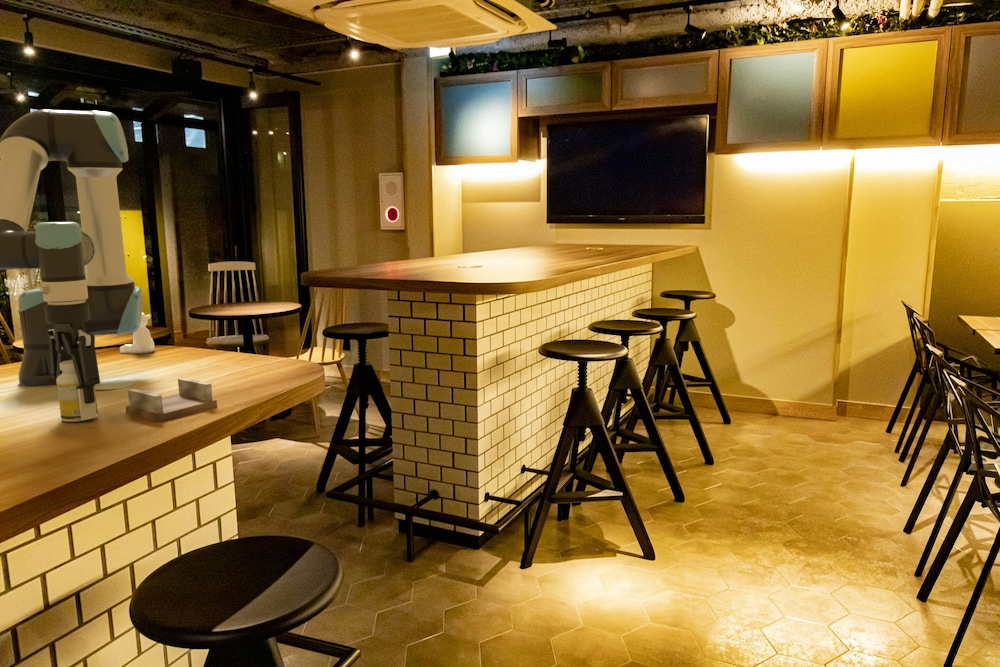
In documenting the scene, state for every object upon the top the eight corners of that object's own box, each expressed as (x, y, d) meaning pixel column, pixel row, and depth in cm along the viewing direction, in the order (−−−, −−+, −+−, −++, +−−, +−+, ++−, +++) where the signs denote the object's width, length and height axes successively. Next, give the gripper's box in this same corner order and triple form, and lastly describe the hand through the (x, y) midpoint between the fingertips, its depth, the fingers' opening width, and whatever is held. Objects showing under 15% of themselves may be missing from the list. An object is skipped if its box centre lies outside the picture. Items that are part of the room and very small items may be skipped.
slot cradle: (126, 413, 147) (123, 389, 146) (183, 399, 158) (181, 377, 157) (159, 422, 141) (157, 397, 140) (217, 406, 151) (215, 383, 151)
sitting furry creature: (149, 347, 218) (145, 309, 216) (165, 350, 214) (162, 310, 212) (118, 353, 211) (114, 312, 209) (135, 356, 206) (131, 315, 204)
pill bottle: (90, 411, 147) (84, 356, 145) (103, 417, 143) (97, 360, 141) (55, 418, 143) (48, 362, 140) (68, 425, 138) (61, 366, 136)
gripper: (21, 300, 141) (35, 413, 145) (72, 308, 130) (86, 428, 135) (61, 296, 147) (74, 404, 151) (112, 303, 137) (124, 418, 141)
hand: (79, 415), depth 143 cm, fingers closed on pill bottle, 6 cm apart
